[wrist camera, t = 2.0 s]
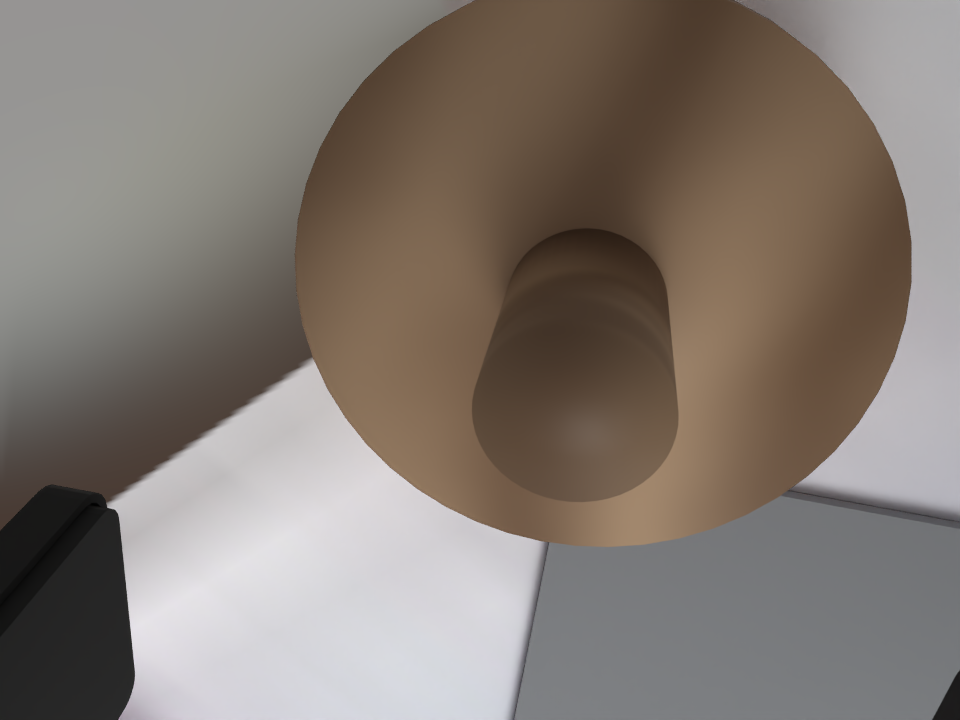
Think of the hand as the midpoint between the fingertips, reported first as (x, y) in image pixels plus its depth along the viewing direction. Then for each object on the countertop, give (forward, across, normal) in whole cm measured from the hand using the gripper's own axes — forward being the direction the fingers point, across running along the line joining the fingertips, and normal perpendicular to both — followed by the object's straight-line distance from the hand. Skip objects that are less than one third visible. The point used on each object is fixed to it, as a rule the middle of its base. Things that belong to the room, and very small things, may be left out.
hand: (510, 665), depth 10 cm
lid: (+12, -1, 0) cm, 12 cm away
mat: (+18, -10, +18) cm, 27 cm away
